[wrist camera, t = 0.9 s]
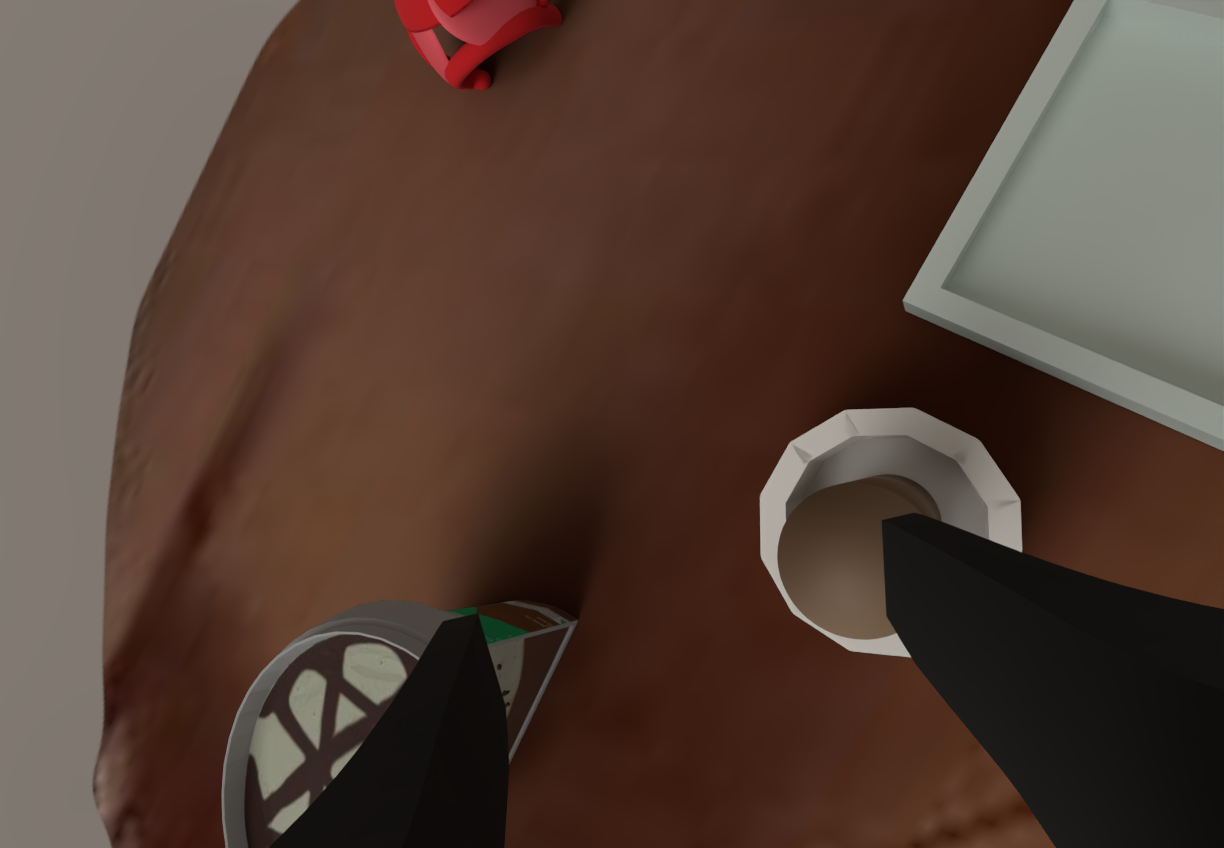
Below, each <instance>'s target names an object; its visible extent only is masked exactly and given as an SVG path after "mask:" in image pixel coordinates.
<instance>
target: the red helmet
mask: <svg viewBox="0 0 1224 848" xmlns="http://www.w3.org/2000/svg"><path fill="white" fill-rule="evenodd" d="M394 2H395V6H396V10H397V12H398V15H399V17H400V19H401V21H402V23H403V24H404V26H405V27H406V29H407V31H408V34H409V37H410V39H411V41H412V43H413V45H414V47H415V48H416V49H417V51H418V52H419V54H420V55H421V56H422V57H423V58H424V60H425V61H426V62H427V63H428V64H429V65H430V66H431V67H433V68H434V69H435V70H436V71H437V72H438V74H439V75H440V76H441V77H442V78H443V79H444V80H445V81H446V82H448V83H449V84H450V85H451V86H452V87H454V88H456V89H470V90H472V89H478V90H486V89H487V88H488V87H489V86H490V84H491V78H490V76H489V74H488V73H487V72H486V71H484V70H480V69H475V68H476V67H477V66H478V65H479V64H481V63H482V62H483V61H484V60H486V59H487V58H488V57H490V56H491V55H492V54H494V53H495V52H497V51H498V50H500V49H502V48H503V47H505V46H507V45H508V44H510V43H512V42H513V41H515V40H517V39H519V38H520V37H522V36H524V35H526V34H528V33H530V32H532V31H534V30H537V29H539V28H544V27H558V26H560V25H561V23H562V16H561V13H560V11H559V10H558V8H556V7H555V6H553V5H548V4H549V0H394ZM439 25H442V26H443V27H444V28H445V29H446V30H447V31H448V32H450V33H451V34H452V35H454V36H455V37H457V38H458V39H460V40H462V41H464V42H466V43H465V44H464V45H463V46H462V47H461V48H460V49H459V50H458V51H457V52H456V53H455V54H454V55H453V56H452V57H451V58H450V57H449V56H448V55H446V54H445V53H444V51H443V48H442V46H441V44H440V43H439V41H438V39H437V37H436V35H435V33H434V31H433V28H435V27H437V26H439Z"/></svg>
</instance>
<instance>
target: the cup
mask: <svg viewBox="0 0 1224 848" xmlns="http://www.w3.org/2000/svg"><path fill="white" fill-rule="evenodd" d="M978 440H979V439H977V438H975V437H973V436H971V435H969V434H967V433H965V432H963V431H961V430H959V429H957V428H955V427H953V426H951V425H949V424H946V423H944V422H942V421H940V420H938V419H936V418H934V417H932V416H930V415H928V414H926V413H924V412H922V411H920V410H918V409H916V408H885V409H854V410H844V411H842V412H841V413H839V414H837V415H835V416H834V417H832V418H830V419H829V420H827V421H825V422H824V423H822V424H820V425H819V426H817V427H815V428H813V429H812V430H810V431H808V432H807V433H805V434H803V435H802V436H800V437H798V438H797V439H795V440H793V441H791V442H790V443H789V445H788V447H787V448H786V450H785V452H784V454H783V456H782V457H781V459H780V461H779V463H778V464H777V466H776V468H775V470H774V472H773V473H772V475H771V477H770V479H769V480H768V482H767V484H766V486H765V488H764V489H763V491H762V493H761V496H760V536H761V558H762V560H763V562H764V564H765V565H766V567H767V569H768V571H769V572H770V574H771V576H772V578H773V580H774V581H775V583H776V585H777V587H778V588H779V590H780V592H781V594H782V595H783V597H784V599H785V601H786V602H787V604H788V606H789V608H790V610H791V611H792V613H793V612H794V613H793V614H794V615H796V616H797V617H799V618H800V619H802V620H804V621H805V622H807V623H808V624H810V625H811V626H813V627H814V628H816V629H817V630H819V631H820V632H822V633H823V634H825V635H826V636H828V637H829V638H831V639H833V640H834V641H836V642H837V643H839V644H840V645H842V646H843V647H845V648H846V649H848V650H849V651H850V649H851V651H855V652H865V653H875V654H884V655H894V656H904V657H911V656H910V654H909V653H908V651H907V650H906V648H905V646H904V645H903V643H902V642H901V640H900V638H899V637H898V635H897V633H896V634H893V635H890V636H887V637H883V638H879V639H870V640H861V639H851V638H845V637H842V636H838V635H835V634H833V633H830V632H828V631H826V630H824V629H822V628H820V627H819V626H817V625H815V624H814V623H813V622H811V621H810V620H809V619H807V618H806V617H805V616H804V615H803V614H802V613H801V612H800V611H799V610H798V608H797V607H796V606H795V605H794V604H793V602H792V601H791V599H790V598H789V596H788V594H787V592H786V590H785V588H784V586H783V583H782V580H781V578H780V574H779V569H778V560H777V551H778V543H779V537H780V534H781V531H782V528H783V526H784V524H785V522H786V520H787V519H788V517H789V516H790V514H791V513H792V511H793V510H794V509H795V508H796V507H797V506H798V505H799V504H800V503H801V502H802V501H803V500H804V499H806V498H807V497H809V496H810V495H812V494H813V493H815V492H817V491H819V490H821V489H824V488H827V487H830V486H833V485H837V484H842V483H846V482H850V481H855V480H859V479H863V478H867V477H872V476H876V475H883V474H892V475H899V476H903V477H906V478H909V479H911V480H913V481H915V482H917V483H918V484H920V485H921V486H922V487H924V488H925V489H926V490H927V491H928V492H929V493H930V495H931V496H932V497H933V499H934V500H935V502H936V504H937V506H938V508H939V511H940V515H941V521H942V522H945V523H947V524H950V525H952V526H955V527H958V528H960V529H963V530H965V531H968V532H971V533H973V534H976V535H978V536H981V537H983V538H986V539H989V540H991V541H994V542H996V543H999V544H1001V545H1004V546H1007V547H1009V548H1012V549H1015V550H1017V551H1020V552H1022V527H1021V500H1020V498H1019V497H1018V495H1017V494H1016V493H1015V491H1014V490H1013V488H1012V487H1011V485H1010V484H1009V482H1008V481H1007V479H1006V478H1005V476H1004V475H1003V474H1002V472H1001V471H1000V469H999V468H998V466H997V465H996V463H995V462H994V460H993V459H992V457H991V456H990V455H989V453H988V452H987V450H986V449H985V447H984V446H983V444H982V443H981V441H980V440H979V441H978Z"/></svg>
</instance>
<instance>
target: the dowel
mask: <svg viewBox="0 0 1224 848" xmlns="http://www.w3.org/2000/svg"><path fill="white" fill-rule="evenodd" d="M914 512H915V513H918V514H921V515H925V516H928V517H931V518H934V519H936V520H939V521H941V515H940V511H939V508H938V506H937V504H936V502H935V500H934V499H933V497H932V496H931V495H930V493H929V492H928V491H927V490H926V489H925V488H924V487H922V486H921V485H920V484H918V483H917V482H915V481H913V480H911V479H909V478H906V477H903V476H899V475H892V474H883V475H876V476H872V477H867V478H863V479H859V480H855V481H850V482H846V483H842V484H837V485H833V486H830V487H827V488H824V489H821V490H819V491H817V492H815V493H813V494H812V495H810V496H809V497H807V498H806V499H804V500H803V501H802V502H801V503H800V504H799V505H798V506H797V507H796V508H795V509H794V510H793V511H792V513H791V514H790V516H789V517H788V519H787V520H786V522H785V524H784V526H783V528H782V531H781V534H780V537H779V543H778V551H777V560H778V569H779V574H780V578H781V580H782V583H783V586H784V588H785V590H786V592H787V594H788V596H789V598H790V599H791V601H792V602H793V604H794V605H795V606H796V607H797V608H798V610H799V611H800V612H801V613H802V614H803V615H804V616H805V617H806V618H807V619H809V620H810V621H811V622H813V623H814V624H815V625H817V626H819V627H820V628H822V629H824V630H826V631H828V632H830V633H833V634H835V635H838V636H842V637H845V638H851V639H861V640H870V639H879V638H883V637H887V636H890V635H893V634H896V631H895V630H894V628H893V626H892V625H891V623H890V621H889V620H888V618H887V616H886V599H885V579H884V559H883V539H882V520H884V519H888V518H893V517H897V516H901V515H906V514H910V513H914Z"/></svg>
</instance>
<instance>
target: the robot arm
mask: <svg viewBox="0 0 1224 848" xmlns="http://www.w3.org/2000/svg"><path fill="white" fill-rule="evenodd" d="M882 539H883V559H884V579H885V599H886V616H887V618H888V620H889V621H890V623H891V625H892V626H893V628H894V630H895V631H896V633H897V635H898V637H899V638H900V640H901V642H902V643H903V645H904V646H905V648H906V650H907V651H908V653H909V654H910V656H911V657H912V659H913V661H914V662H915V664H916V665H917V666H918V668H919V669H920V670H921V671H922V673H923V674H924V675H925V676H926V678H927V679H928V680H929V681H930V683H931V684H932V685H933V686H934V688H935V689H936V690H937V691H938V693H939V694H940V695H941V696H942V698H943V699H944V700H945V701H946V702H947V704H948V705H949V706H950V707H951V709H952V710H953V711H954V712H955V713H956V715H957V716H958V717H959V718H960V720H961V721H962V722H963V723H964V724H965V726H966V727H967V728H968V729H969V730H970V732H971V733H972V734H973V735H974V737H975V738H976V739H977V740H978V741H979V743H980V744H981V745H982V746H983V748H984V749H985V750H986V751H987V752H988V754H989V755H990V756H991V757H992V758H993V760H994V761H995V762H996V763H997V765H998V766H999V767H1000V768H1001V769H1002V771H1003V772H1004V773H1005V775H1006V776H1007V777H1008V779H1009V780H1010V781H1011V783H1012V784H1013V785H1014V787H1015V788H1016V789H1017V791H1018V792H1019V793H1020V795H1021V796H1022V798H1023V799H1024V801H1025V802H1026V804H1027V805H1028V807H1029V808H1030V810H1031V811H1032V812H1033V814H1034V815H1035V817H1036V818H1037V820H1038V821H1039V823H1040V824H1041V826H1042V827H1043V829H1044V830H1045V832H1046V833H1047V835H1048V836H1049V838H1050V839H1051V841H1052V842H1053V844H1054V845H1055V847H1056V848H1224V609H1220V608H1215V607H1210V606H1205V605H1200V604H1196V603H1191V602H1187V601H1182V600H1178V599H1173V598H1169V597H1165V596H1162V595H1158V594H1154V593H1150V592H1146V591H1142V590H1138V589H1135V588H1131V587H1127V586H1123V585H1120V584H1116V583H1113V582H1109V581H1106V580H1102V579H1099V578H1096V577H1093V576H1090V575H1087V574H1084V573H1081V572H1078V571H1074V570H1071V569H1068V568H1065V567H1062V566H1059V565H1056V564H1053V563H1050V562H1048V561H1045V560H1042V559H1039V558H1036V557H1034V556H1031V555H1028V554H1025V553H1023V552H1020V551H1017V550H1015V549H1012V548H1009V547H1007V546H1004V545H1001V544H999V543H996V542H994V541H991V540H989V539H986V538H983V537H981V536H978V535H976V534H973V533H971V532H968V531H965V530H963V529H960V528H958V527H955V526H952V525H950V524H947V523H945V522H942V521H939V520H936V519H934V518H931V517H928V516H925V515H921V514H918V513H915V512H914V513H910V514H906V515H901V516H897V517H893V518H888V519H884V520H882ZM508 777H509V748H508V731H507V716H506V705H505V702H504V699H503V695H502V692H501V689H500V685H499V682H498V678H497V675H496V672H495V668H494V665H493V662H492V658H491V655H490V652H489V648H488V645H487V641H486V638H485V635H484V631H483V628H482V625H481V621H480V618H479V614H478V613H476V614H472V615H467V616H463V617H459V618H454V619H450V620H445V621H443V622H442V623H441V625H440V626H439V627H438V629H437V631H436V632H435V634H434V635H433V637H432V639H431V640H430V642H429V643H428V645H427V647H426V648H425V650H424V652H423V653H422V655H421V657H420V658H419V660H418V662H417V663H416V665H415V666H414V668H413V670H412V671H411V673H410V674H409V676H408V678H407V679H406V681H405V682H404V684H403V685H402V687H401V688H400V690H399V691H398V693H397V694H396V696H395V697H394V699H393V701H392V702H391V704H390V705H389V707H388V708H387V710H386V711H385V713H384V714H383V715H382V717H381V718H380V720H379V721H378V722H377V724H376V725H375V727H374V728H373V729H372V731H371V732H370V733H369V735H368V736H367V737H366V739H365V740H364V742H363V743H362V744H361V746H360V747H359V748H358V750H357V751H356V752H355V754H354V755H353V756H352V757H351V759H350V760H349V761H348V762H347V764H346V765H345V766H344V767H343V769H342V770H341V771H340V772H339V773H338V775H337V776H336V777H335V778H334V779H333V780H332V781H331V783H330V784H329V785H328V786H327V787H326V788H325V789H324V791H323V792H322V793H321V794H320V795H319V796H318V797H317V799H316V800H315V801H314V802H313V803H312V804H311V805H310V806H309V807H308V808H307V809H306V811H305V812H304V813H303V814H302V815H301V816H300V817H299V818H298V819H297V820H296V821H295V822H294V823H293V824H292V825H291V826H290V827H289V828H288V829H287V830H286V831H285V832H284V833H283V834H282V835H281V836H280V837H279V838H278V839H277V840H276V841H275V842H274V843H273V844H272V845H271V846H270V847H269V848H504V842H505V827H506V811H507V795H508Z"/></svg>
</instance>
